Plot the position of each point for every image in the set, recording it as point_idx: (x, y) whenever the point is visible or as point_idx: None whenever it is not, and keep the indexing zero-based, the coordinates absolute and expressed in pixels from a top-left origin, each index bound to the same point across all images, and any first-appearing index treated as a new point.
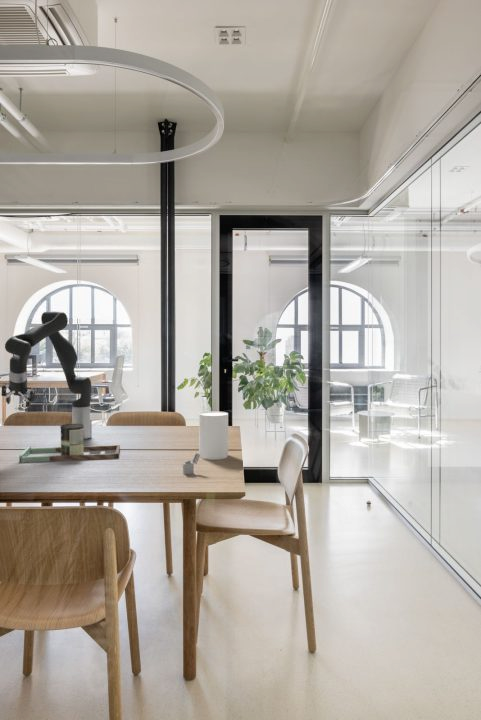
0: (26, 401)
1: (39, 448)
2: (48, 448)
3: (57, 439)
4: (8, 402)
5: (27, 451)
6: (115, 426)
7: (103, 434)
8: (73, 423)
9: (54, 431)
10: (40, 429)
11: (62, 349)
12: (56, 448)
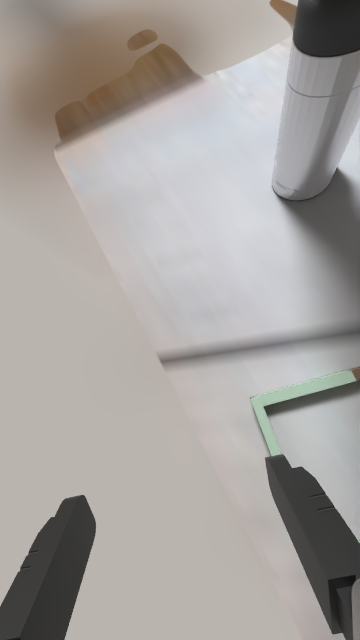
0: (339, 632)
1: (294, 397)
2: (327, 388)
3: (236, 219)
4: (84, 560)
5: None
6: None
7: None
8: (296, 150)
9: (175, 149)
10: (132, 147)
11: None
12: (357, 379)
